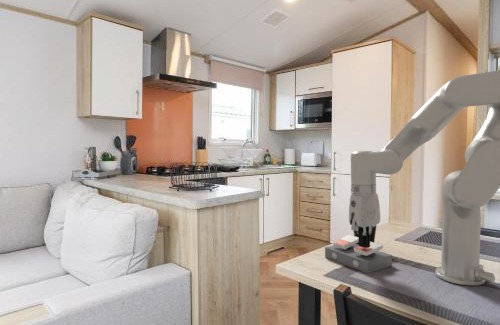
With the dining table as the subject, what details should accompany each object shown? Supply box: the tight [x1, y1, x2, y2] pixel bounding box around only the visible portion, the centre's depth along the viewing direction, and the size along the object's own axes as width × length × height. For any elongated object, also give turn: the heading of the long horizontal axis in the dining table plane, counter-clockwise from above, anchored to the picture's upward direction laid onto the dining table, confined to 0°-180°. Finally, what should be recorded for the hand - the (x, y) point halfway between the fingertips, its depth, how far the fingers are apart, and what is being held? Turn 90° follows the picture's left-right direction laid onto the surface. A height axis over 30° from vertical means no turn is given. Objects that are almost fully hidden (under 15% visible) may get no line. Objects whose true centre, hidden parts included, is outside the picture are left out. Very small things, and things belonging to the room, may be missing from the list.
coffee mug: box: [352, 224, 378, 245], centre depth 129 cm, size 12×9×10 cm
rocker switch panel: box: [324, 244, 393, 274], centre depth 115 cm, size 18×12×4 cm
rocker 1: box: [332, 234, 359, 250], centre depth 119 cm, size 5×8×1 cm, turn 122°
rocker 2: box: [354, 242, 384, 256], centre depth 111 cm, size 5×8×1 cm, turn 122°
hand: (364, 246), depth 109 cm, fingers closed
